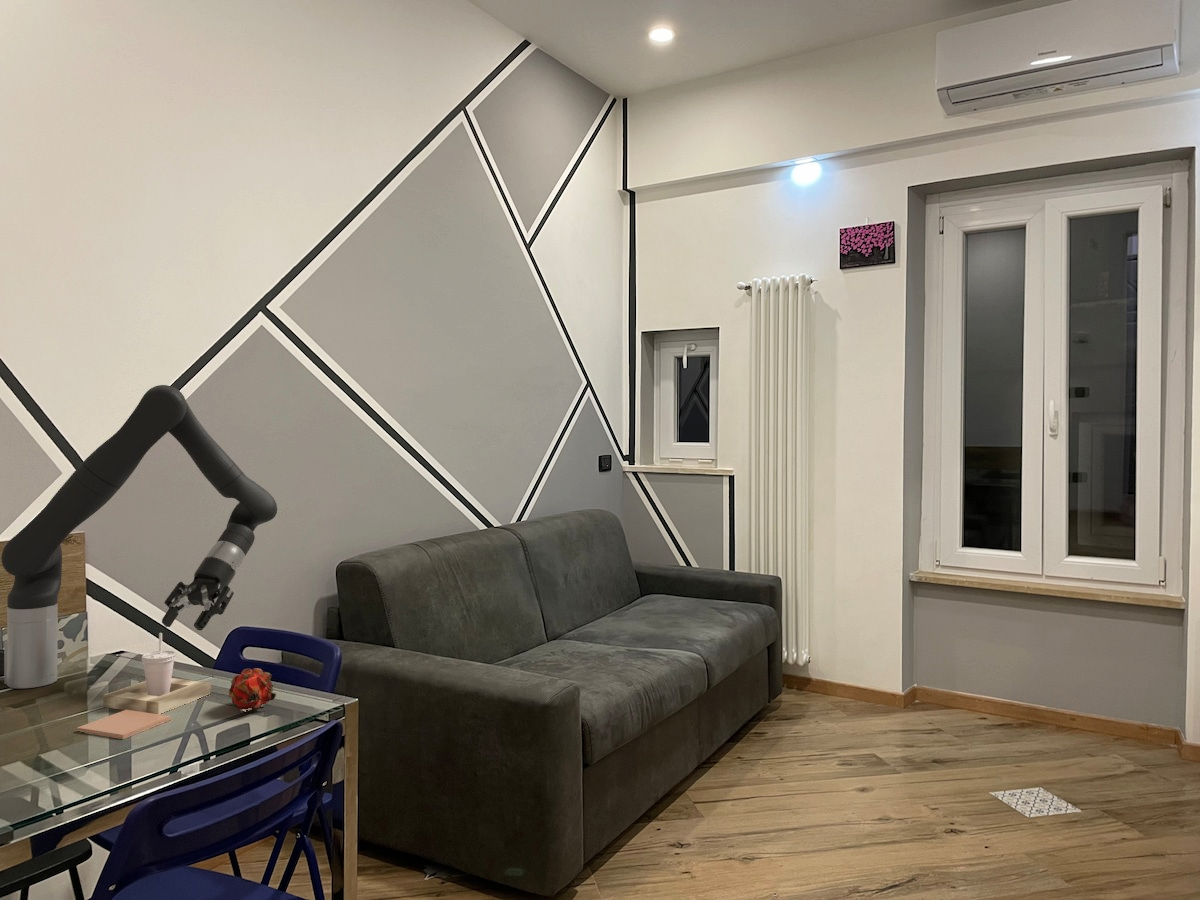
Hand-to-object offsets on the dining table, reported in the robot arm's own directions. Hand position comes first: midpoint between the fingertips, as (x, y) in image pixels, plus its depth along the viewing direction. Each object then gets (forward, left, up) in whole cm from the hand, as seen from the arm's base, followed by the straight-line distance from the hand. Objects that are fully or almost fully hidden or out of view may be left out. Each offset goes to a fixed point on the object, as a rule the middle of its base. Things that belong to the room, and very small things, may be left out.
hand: (181, 626), depth 183 cm
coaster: (+6, -20, -14) cm, 25 cm away
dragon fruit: (+21, -3, -14) cm, 26 cm away
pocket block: (0, -6, -14) cm, 15 cm away
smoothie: (0, -6, -14) cm, 16 cm away
